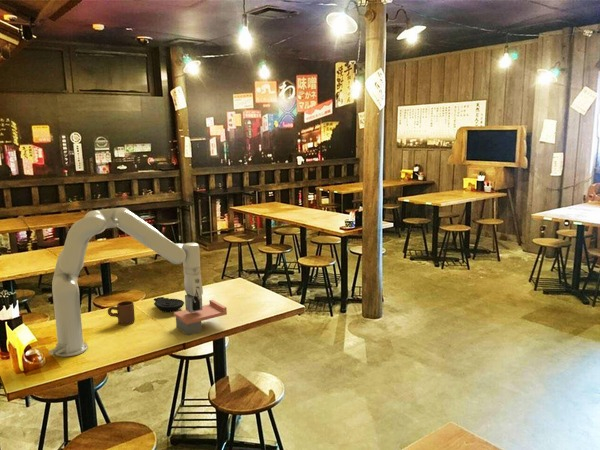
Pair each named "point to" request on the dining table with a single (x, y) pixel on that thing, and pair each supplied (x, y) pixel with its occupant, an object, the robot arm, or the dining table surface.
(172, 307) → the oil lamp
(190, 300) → the block
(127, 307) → the mug
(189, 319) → the stand
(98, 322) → the dining table surface
